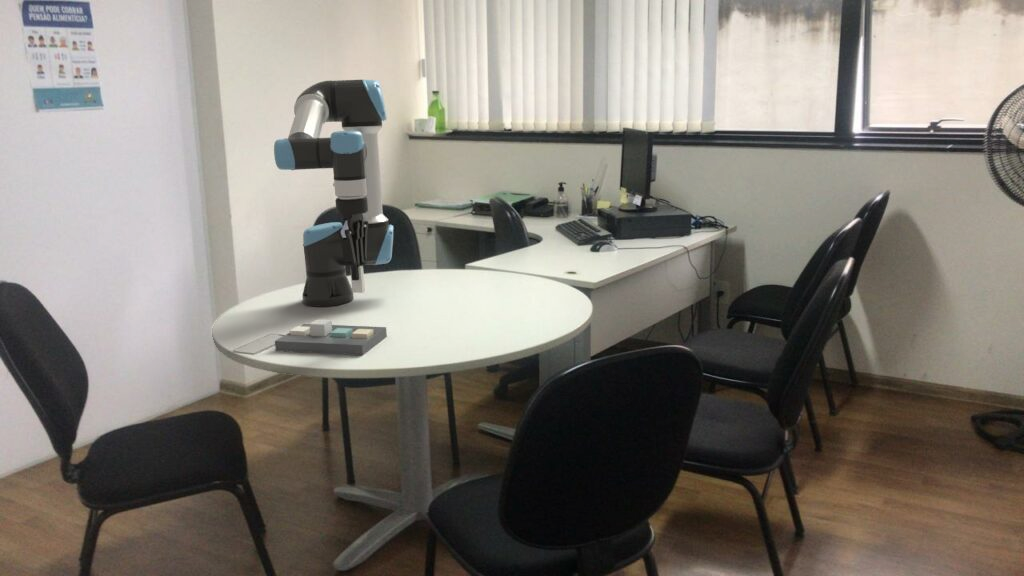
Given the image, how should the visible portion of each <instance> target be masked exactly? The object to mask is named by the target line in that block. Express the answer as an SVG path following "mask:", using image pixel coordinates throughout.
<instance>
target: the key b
mask: <svg viewBox="0 0 1024 576" xmlns="http://www.w3.org/2000/svg"><path fill="white" fill-rule="evenodd" d="M332 323H333V322H332V319H316V320H314V321H312V322H311V323H308V324H309V326H310V336H323V337H325V336H327V335H328V334H330V333H331V332H332V325H333V324H332Z"/></svg>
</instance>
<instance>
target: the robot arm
mask: <svg viewBox="0 0 1024 576" xmlns="http://www.w3.org/2000/svg"><path fill="white" fill-rule="evenodd" d="M382 91H383V90H382V87H381V83H380V82H379V81H377V80H376V79H364V78H362V79H342V80H323V81H319V82H317V83H315V84H312V85H311V86H309V87H308V88H306V89H305V90H303V91H302V92H301V93H300V94H299V95H298V96H297V98H296V101H295V102H294V106H293V113H294V117H293V122H292V124H291V127H290V130H289V133H288V136H287V138H286V137H285V138H282V139H281V138H280V139H276V140H275V142H274V146H273V154H274V162H275V165H276V167H277V168H278V169H279V170H284V171H287V170H288V171H289V170H291V171H296V170H297V171H298V170H299V171H301V170H315V169H316V170H317V169H320V170H321V169H332V171H333V173H332V174H333V183H332V186H333V187H334V195H335V196H336V199H335V211H336V212H335V213H337V214H338V215H341V216H342V219H341V220H342V221H341V222H339V221H338V222H337V221H335V222H327V223H321V224H317V225H314V226H310V227H308V228H306V229H305V230H304V231H303V233H302V235H303V237H302V238H303V239H302V240H303V241H302V242H303V244H302V246H303V251H304V263H305V273H306V277H305V278H306V279H305V282H304V287H303V291H302V304H303V305H305V306H307V307H308V306H309V307H319V308H320V307H321V308H322V307H332V306H340V305H344V304H347V303H350V302H352V301H353V300H354V299H355V298H354V297H355V295H354V293H357V294H358V293H360V294H362V293H364V292H366V289H365V276H364V275H365V274H364V266H366V265H367V266H368V265H369V266H370V265H373V266H377V265H383V264H388V263H389V262H390V261H391V260H392V256H393V245H394V228H395V227H394V225H392V224H389V218H387V216H385V215H384V213H383V212H384V211H383V198H382V196H383V195H382V182H381V181H382V180H381V169H380V168H381V166H380V154H379V152H380V151H379V137H378V132H379V131H380V130H381V129H382V128H383V122H384V121H386V120H387V119H388V117H387V113H386V105H385V100H384V95H383V92H382ZM332 122H333V123H334V122H335V123H338V122H341V129H342V130H340V131H339V130H337V131H333V132H331V134H330V137H321V132H322V128H323V125H324V124H325V123H332ZM346 268H350V281H351V283H350V281H349V278H348V276H347V271H346Z"/></svg>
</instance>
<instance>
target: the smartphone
mask: <svg viewBox="0 0 1024 576" xmlns="http://www.w3.org/2000/svg"><path fill="white" fill-rule="evenodd" d="M284 335H285V334H279V333H269V334H267V335H265V336H263V337H260V338H258V339H255V340H253V341H251V342H248V343H246V344H244V345H242V346H238V347H237V348H235V349H233V350H232V353H236V354H237V353H238V354H244V353H245V354H246V355H257V354H260V353H262V352H264V351H266V350H268V349H271V348H273V347H275V341H276V340H277V339H279V338H281V337H283V336H284Z"/></svg>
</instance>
